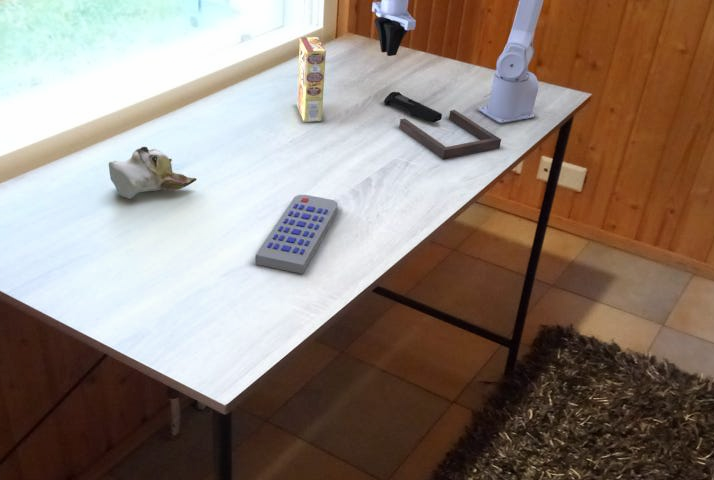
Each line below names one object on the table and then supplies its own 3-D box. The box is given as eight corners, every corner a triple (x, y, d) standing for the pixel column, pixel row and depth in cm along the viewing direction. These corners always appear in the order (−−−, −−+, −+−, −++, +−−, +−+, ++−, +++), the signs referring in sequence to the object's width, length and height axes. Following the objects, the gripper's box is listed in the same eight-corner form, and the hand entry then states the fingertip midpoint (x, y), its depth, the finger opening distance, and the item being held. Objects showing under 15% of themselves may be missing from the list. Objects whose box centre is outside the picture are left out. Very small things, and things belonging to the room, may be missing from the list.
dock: (452, 118, 178) (454, 109, 176) (499, 148, 166) (501, 139, 165) (398, 127, 173) (400, 119, 172) (442, 159, 161) (444, 150, 160)
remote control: (254, 265, 130) (255, 253, 128) (297, 200, 147) (298, 189, 145) (302, 275, 128) (303, 263, 126) (340, 208, 145) (341, 197, 143)
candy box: (322, 122, 174) (327, 50, 165) (302, 122, 174) (306, 51, 165) (314, 105, 181) (318, 36, 172) (295, 106, 181) (299, 36, 172)
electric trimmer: (431, 129, 173) (434, 115, 171) (382, 104, 183) (383, 90, 181) (444, 125, 175) (447, 111, 173) (394, 100, 185) (396, 87, 183)
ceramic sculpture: (95, 142, 143) (170, 128, 151) (97, 187, 148) (169, 171, 156) (122, 166, 137) (199, 150, 144) (123, 212, 142) (197, 195, 149)
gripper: (362, -18, 178) (356, 45, 186) (398, 1, 167) (390, 66, 176) (390, -21, 180) (383, 41, 188) (427, -3, 170) (418, 62, 178)
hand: (388, 53), depth 182 cm, fingers closed
